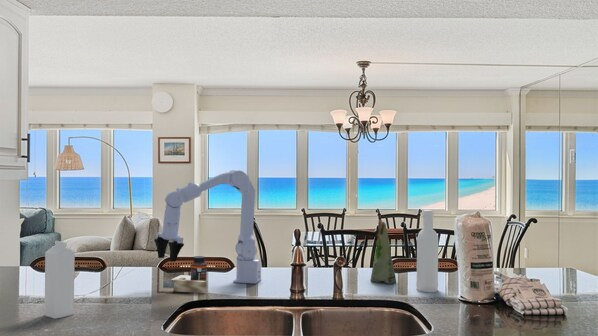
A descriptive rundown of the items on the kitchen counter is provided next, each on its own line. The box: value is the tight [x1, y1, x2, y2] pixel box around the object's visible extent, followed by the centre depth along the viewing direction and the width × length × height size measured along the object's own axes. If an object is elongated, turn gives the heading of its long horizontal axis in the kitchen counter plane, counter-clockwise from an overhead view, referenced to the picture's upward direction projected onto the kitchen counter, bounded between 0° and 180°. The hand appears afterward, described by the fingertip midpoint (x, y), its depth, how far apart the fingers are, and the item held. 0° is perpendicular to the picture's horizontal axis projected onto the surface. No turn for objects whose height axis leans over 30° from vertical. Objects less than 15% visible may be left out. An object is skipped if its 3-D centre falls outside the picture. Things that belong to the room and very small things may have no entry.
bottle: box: [415, 209, 439, 293], centre depth 195 cm, size 8×8×30 cm
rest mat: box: [170, 274, 191, 282], centre depth 208 cm, size 9×9×1 cm
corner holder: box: [173, 278, 208, 294], centre depth 188 cm, size 12×5×4 cm, turn 79°
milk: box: [43, 240, 76, 320], centre depth 155 cm, size 6×6×22 cm
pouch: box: [370, 218, 397, 285], centre depth 208 cm, size 11×12×25 cm
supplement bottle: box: [190, 255, 208, 282], centre depth 194 cm, size 6×6×11 cm
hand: (166, 259), depth 194 cm, fingers open, 7 cm apart
